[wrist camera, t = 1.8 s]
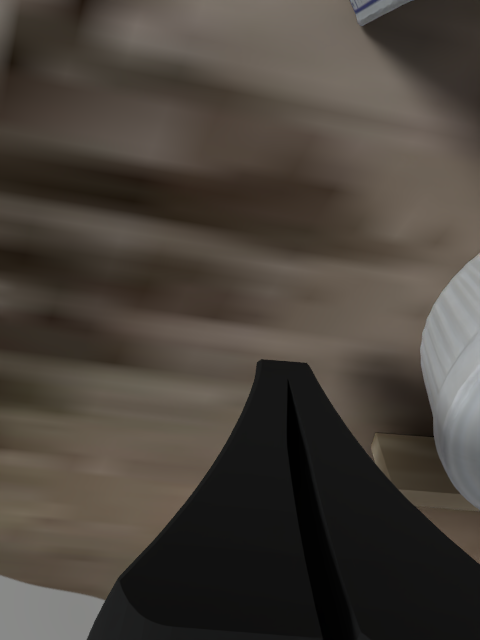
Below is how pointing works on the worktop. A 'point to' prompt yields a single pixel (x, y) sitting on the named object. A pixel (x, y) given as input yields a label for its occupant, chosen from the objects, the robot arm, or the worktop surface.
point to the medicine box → (374, 8)
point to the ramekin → (456, 378)
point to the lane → (417, 471)
